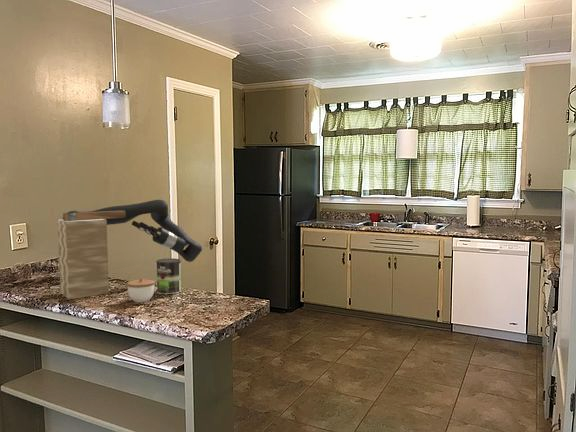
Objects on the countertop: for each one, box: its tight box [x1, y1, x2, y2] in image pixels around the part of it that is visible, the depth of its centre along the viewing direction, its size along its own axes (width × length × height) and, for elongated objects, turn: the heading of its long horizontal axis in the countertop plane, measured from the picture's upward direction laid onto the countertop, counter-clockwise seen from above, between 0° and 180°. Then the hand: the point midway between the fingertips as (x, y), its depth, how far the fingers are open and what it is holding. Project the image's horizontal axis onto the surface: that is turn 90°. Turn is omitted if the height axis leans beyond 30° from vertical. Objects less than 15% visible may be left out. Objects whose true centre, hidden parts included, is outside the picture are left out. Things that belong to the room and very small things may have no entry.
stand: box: [57, 219, 110, 300], centre depth 202 cm, size 14×16×32 cm
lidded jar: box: [126, 277, 156, 304], centre depth 190 cm, size 11×11×9 cm
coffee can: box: [155, 257, 182, 296], centre depth 204 cm, size 10×10×14 cm
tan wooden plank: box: [62, 211, 126, 221], centre depth 204 cm, size 5×25×3 cm, turn 130°
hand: (135, 223), depth 216 cm, fingers open, 8 cm apart
